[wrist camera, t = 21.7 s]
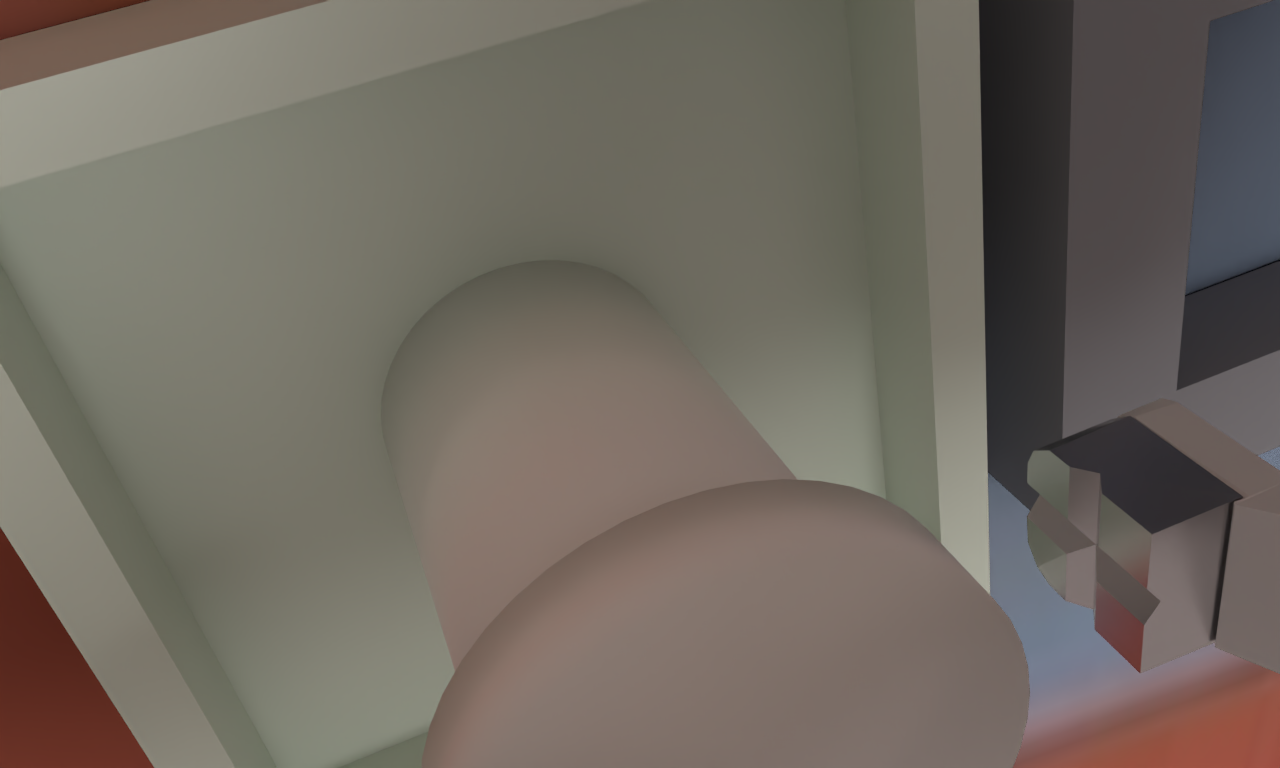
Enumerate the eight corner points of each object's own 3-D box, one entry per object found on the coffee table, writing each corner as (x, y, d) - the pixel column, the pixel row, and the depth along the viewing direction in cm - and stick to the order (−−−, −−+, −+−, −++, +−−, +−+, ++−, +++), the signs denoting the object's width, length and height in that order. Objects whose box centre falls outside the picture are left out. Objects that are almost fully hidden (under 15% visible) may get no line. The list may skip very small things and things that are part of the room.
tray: (868, -190, 14) (975, -176, 12) (916, 542, 20) (990, 624, 18) (-175, 85, 11) (-238, 155, 10) (252, 811, 18) (261, 935, 16)
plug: (685, 161, 14) (1033, 456, 9) (739, 485, 17) (1027, 869, 11) (271, 292, 13) (351, 725, 8) (400, 613, 16) (531, 1104, 10)
